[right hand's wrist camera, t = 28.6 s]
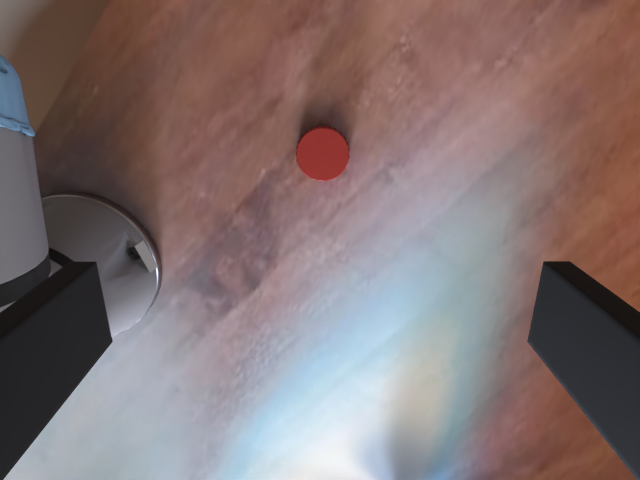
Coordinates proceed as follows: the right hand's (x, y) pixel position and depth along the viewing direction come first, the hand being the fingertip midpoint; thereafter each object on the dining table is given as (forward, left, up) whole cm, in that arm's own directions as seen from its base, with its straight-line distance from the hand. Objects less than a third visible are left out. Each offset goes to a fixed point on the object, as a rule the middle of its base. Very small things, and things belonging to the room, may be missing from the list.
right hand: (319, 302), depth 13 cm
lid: (0, 0, -27) cm, 27 cm away
